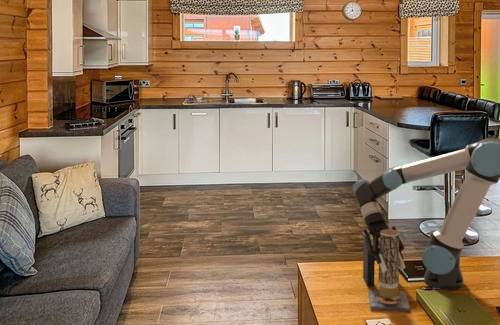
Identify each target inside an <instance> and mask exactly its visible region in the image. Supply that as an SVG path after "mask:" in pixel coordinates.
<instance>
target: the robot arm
mask: <svg viewBox="0 0 500 325" xmlns="http://www.w3.org/2000/svg"><path fill="white" fill-rule="evenodd" d="M462 170H465V173H466V176H465V178H464V180H463V182H462V184H461V186H460V188H459V191H458V192H457V194H456V197H455V199H454V200H453V203H452V204H451V206H450V209H449V211H448V212H447V214H446V216H445V218H444V221H443V222H442V225H441V226H440V227H432V228H431V230H430V231H429V241H428V243H427V245H426V246H425V249H424V250H423V251H422V255H421V256H422V257H421V260H422V264H423V265H424V267H425V268H426V271H425V273H424V275H423V276H424V278H423V281H424V283H425V284H426V285H427V286H428V287H431V288H434V289H437V290H442V291H456V290H460V289H462V288H463V287H464V277H463V274H462V270H461V265H460V261H461V257H460V256H461V253H462V250H463V249H464V246H465V245H464V243H463V239H464V238H465V235H466V233H467V231H469V230H468V229H469V228H470V226H471V224H472V222H473V220H474V218H475V217H476V214H477V213H478V211H479V209H480V207H481V205H482V203H483V201H484V199H485V197H486V196H487V193H488V191H489V190H490V188H491V186H493V185H496V184H497V183H498V182H499V180H500V138H499V137H487V138H485V139H481V140H480V141H476V142H474V143H471V144H467V145H466V146H465V148H463V149H459V150H455V151H452V152H448V153H444V154H440V155H437V156H433V157H429V158H426V159H421V160H418V161H414V162H410V163H407V164H403V165H400V166H399V165H398V166H393V167H390V168H388V169H387V170H385V171H384V172H383V173H382V174H380V175H378V176H377V177H375V178H374V179H373V180H370V181H369V180H368V179H361V180H358V181H356V182H355V183H354V184H353V185H352V190H353V194H354V197H355V199H356V202H357V204H358V207H359V209H360V212H361V215H362V217H363V219H364V220H363V221H364V222H365V226H366V229H364V230H362V232H361V235H362V237H363V238H365V242H366V246H367V250H368V254H369V255H370V256H371V255H373V257H374V258H375V259H376V261H375V262H376V263H377V265H379V264H380V267H381V270H382V272H383V273H385V272H386V271H387V268H386V265H385V262H384V260H383V257H382V255H381V254H379V240H380V231H381V230H385V229H392V230H396V231H397V229H396V226H391V227H390V226H389V225H387V223H386V219H385V217H384V215H383V214H384V213H382V212H383V211H382V209H381V206H380V204H379V202H378V199H380V198H382V197H383V196H385V195H387V194H389V193H390V192H393V191H395V190H397V189H398V188H399V187H401V186H402V185H405V184H409V183H411V182H416V181H421V180H425V179H428V178H432V177H437V176H441V175H444V174H450V173H454V172H458V171H462ZM370 235H371V236H372V239H371V236H370ZM371 240H372V242H373V246H372V243H371ZM403 250H405V245H404V244H403V242H402V240H401V238H400V237H399V271H403V270H404V269H405V268H406V264H405V262H404V255H403V254H402V252H403Z"/></svg>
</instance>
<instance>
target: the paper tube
mask: <svg viewBox="0 0 500 325" xmlns="http://www.w3.org/2000/svg"><path fill="white" fill-rule="evenodd" d="M399 238H400V232H399V231H398V230H397V229H396V230H392V229H385V230H381V231H380V238H379V240H380V254H381V255H382V257H383V260H384V262H385V265H386V268H387V271H386V272H385V273H383V272H382V270H381V267H380V282H379V281H378V284H379V288H378V291H379V293H380V295H381V296H383V297H385V298H395V297H396V296H397V295H398V292H399V283H398V266H399Z"/></svg>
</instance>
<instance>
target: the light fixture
mask: <svg viewBox="0 0 500 325" xmlns="http://www.w3.org/2000/svg"><path fill="white" fill-rule="evenodd" d="M371 243H372V246H373V239H371ZM362 244H363V246H362V248H363V250H362V253H363V254H362V263H363V264H362V265H363V266H362V279H363V281H364V283H365V285H366V287H368V288H371V287H372V288H374V287H375V262H377V261H376V259H375V258H374V257H373V255H371V256H370V255H369V254H368V250H367V246H366V242H365V238H364V237H363V243H362ZM379 254H380V239H379ZM399 279H400V267H399V266H398V284H399V282H400V280H399ZM379 282H380V264H378V283H379Z"/></svg>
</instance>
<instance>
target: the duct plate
mask: <svg viewBox="0 0 500 325" xmlns="http://www.w3.org/2000/svg"><path fill="white" fill-rule="evenodd" d="M368 301H369V307H370V308H369V309H370V310H371V311H382V312H383V311H384V312H386V311H387V312H400V313H401V312H403V313H410V312H411V307H410V302H409V300H408V297H407V293H406V291H398V295H397V296H396V297H395V298H385V297H383V296H381V295H380V293H379V290H377V289H376V290H374V289H373V290H372V289H368Z"/></svg>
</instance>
